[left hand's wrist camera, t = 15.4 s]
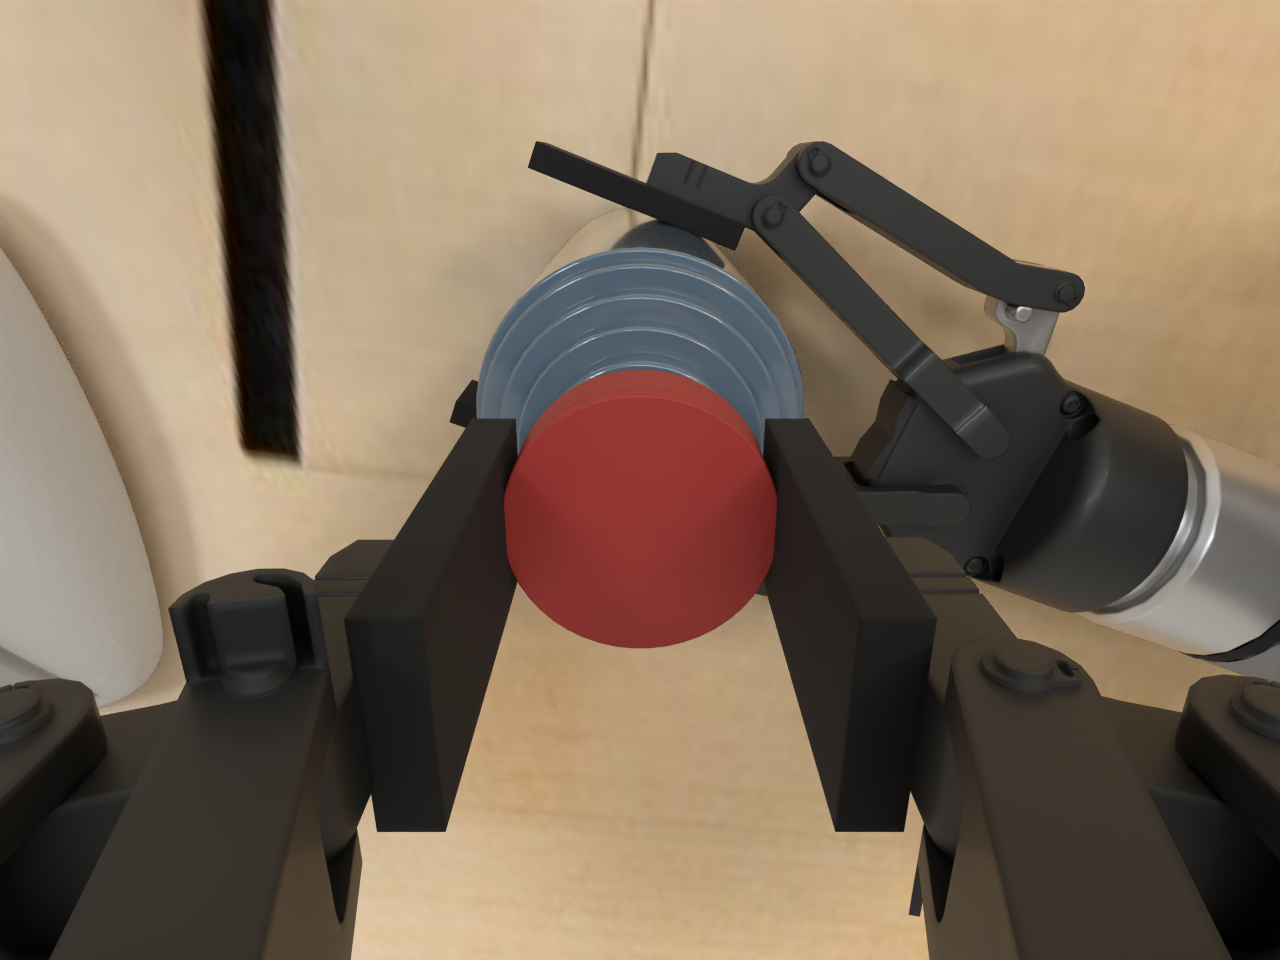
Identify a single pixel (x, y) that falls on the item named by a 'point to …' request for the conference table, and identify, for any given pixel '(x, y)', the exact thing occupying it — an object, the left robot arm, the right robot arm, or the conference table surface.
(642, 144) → the conference table surface
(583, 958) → the conference table surface
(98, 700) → the projector
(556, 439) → the cap
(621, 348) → the bottle
